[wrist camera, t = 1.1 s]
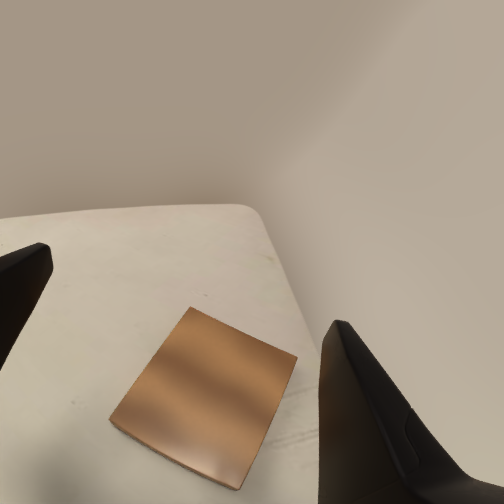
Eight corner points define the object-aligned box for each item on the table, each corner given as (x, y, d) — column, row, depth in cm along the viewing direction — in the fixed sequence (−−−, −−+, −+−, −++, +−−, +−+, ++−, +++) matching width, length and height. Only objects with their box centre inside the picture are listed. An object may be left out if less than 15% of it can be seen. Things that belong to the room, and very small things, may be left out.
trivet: (236, 490, 16) (239, 490, 15) (111, 424, 18) (107, 419, 17) (292, 364, 25) (298, 356, 24) (189, 315, 27) (190, 305, 26)
